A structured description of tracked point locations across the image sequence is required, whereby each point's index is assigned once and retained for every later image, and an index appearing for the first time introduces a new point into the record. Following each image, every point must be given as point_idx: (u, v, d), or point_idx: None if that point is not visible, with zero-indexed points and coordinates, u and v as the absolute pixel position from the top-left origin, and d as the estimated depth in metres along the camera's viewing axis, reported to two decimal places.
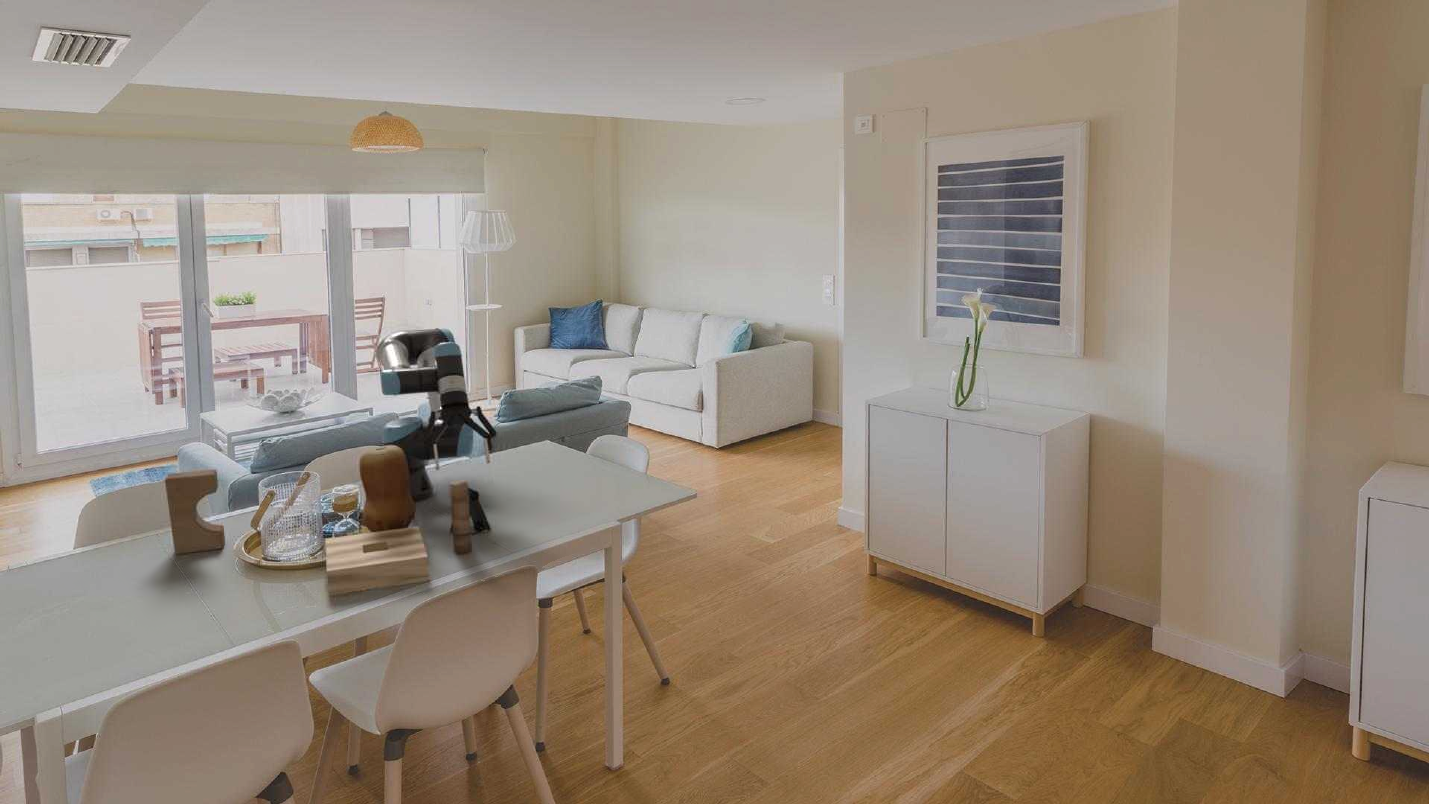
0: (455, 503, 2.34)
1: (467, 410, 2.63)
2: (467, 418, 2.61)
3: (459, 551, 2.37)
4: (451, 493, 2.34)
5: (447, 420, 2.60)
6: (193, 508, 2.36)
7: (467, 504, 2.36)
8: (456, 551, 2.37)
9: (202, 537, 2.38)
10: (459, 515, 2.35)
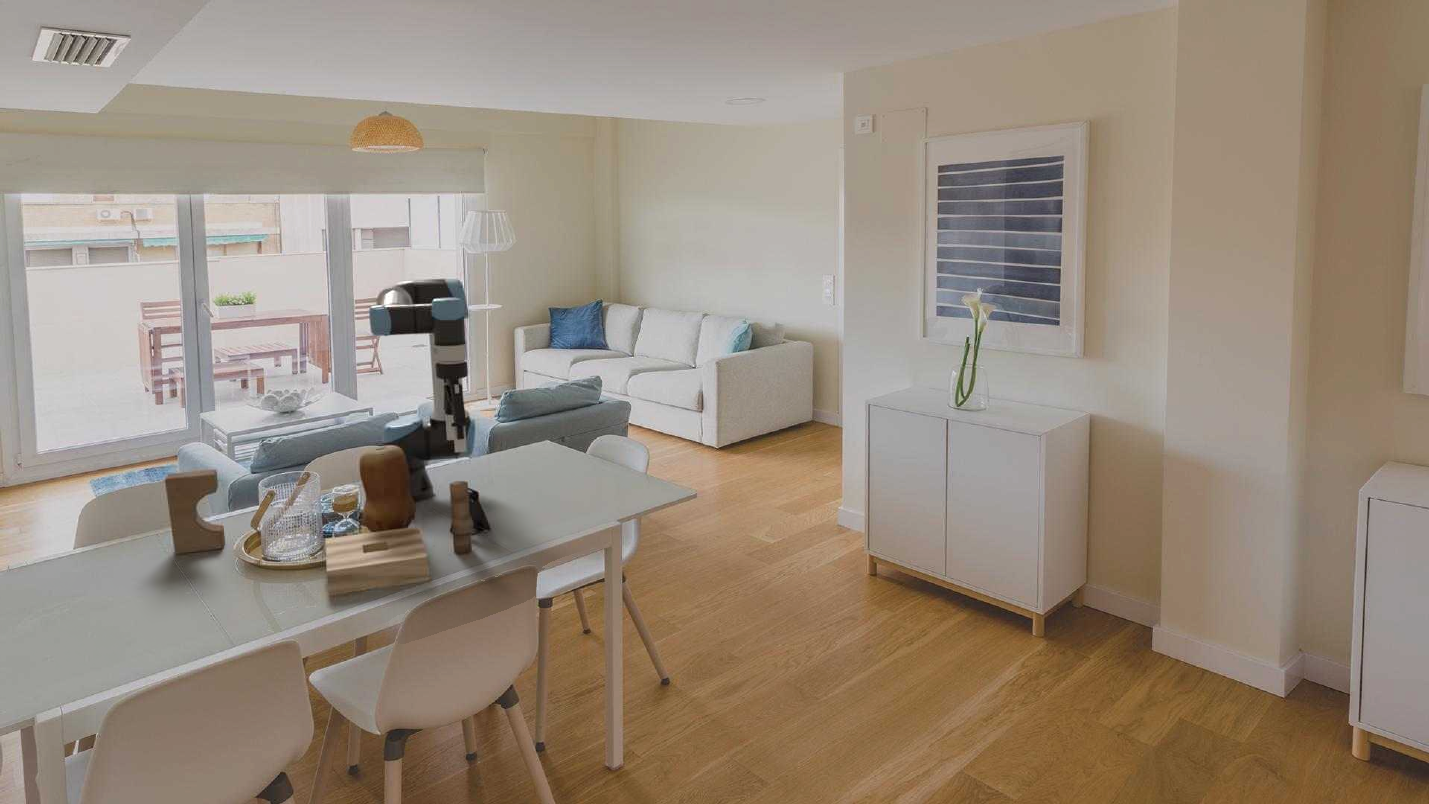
0: (455, 503, 2.34)
1: (450, 386, 2.27)
2: (447, 397, 2.28)
3: (459, 551, 2.37)
4: (451, 493, 2.34)
5: (444, 393, 2.33)
6: (193, 508, 2.36)
7: (467, 504, 2.36)
8: (456, 551, 2.37)
9: (202, 537, 2.38)
10: (459, 515, 2.35)
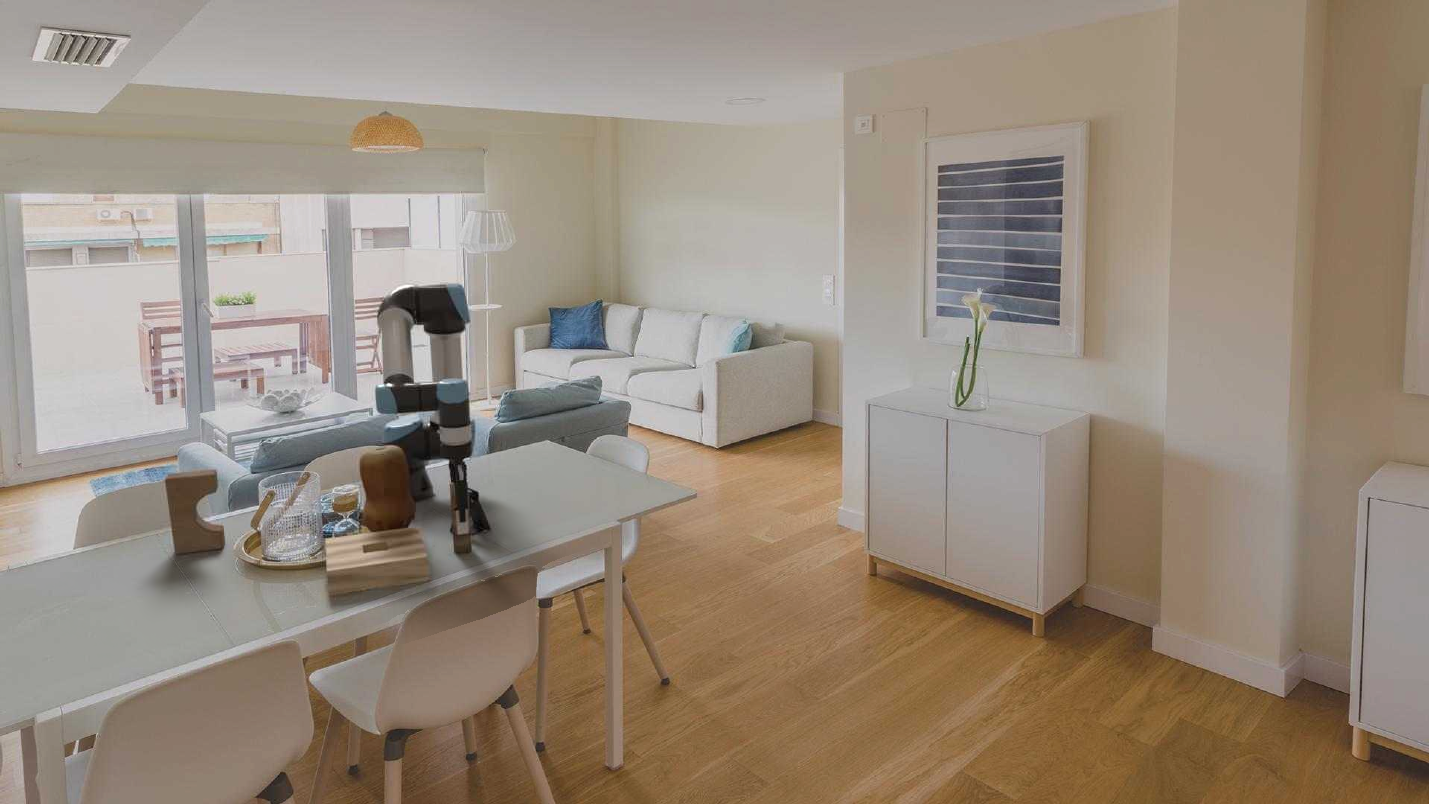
0: (455, 503, 2.34)
1: (454, 467, 2.31)
2: (452, 478, 2.32)
3: (459, 551, 2.37)
4: (451, 493, 2.34)
5: (450, 473, 2.35)
6: (193, 508, 2.36)
7: None
8: (456, 551, 2.37)
9: (202, 537, 2.38)
10: None
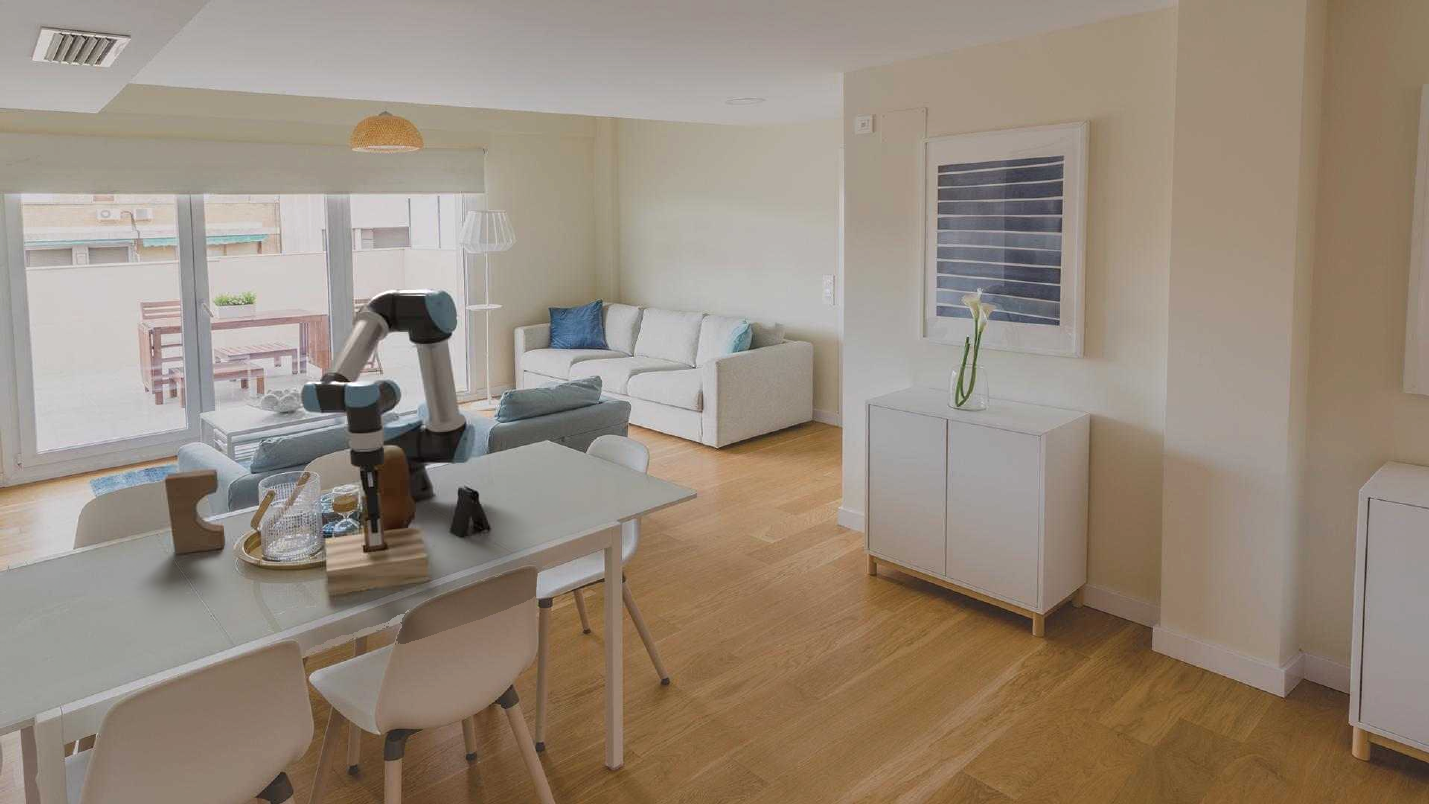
0: (367, 516, 2.21)
1: (364, 474, 2.18)
2: None
3: None
4: (363, 506, 2.21)
5: None
6: (193, 508, 2.36)
7: (380, 517, 2.23)
8: None
9: (202, 537, 2.38)
10: None
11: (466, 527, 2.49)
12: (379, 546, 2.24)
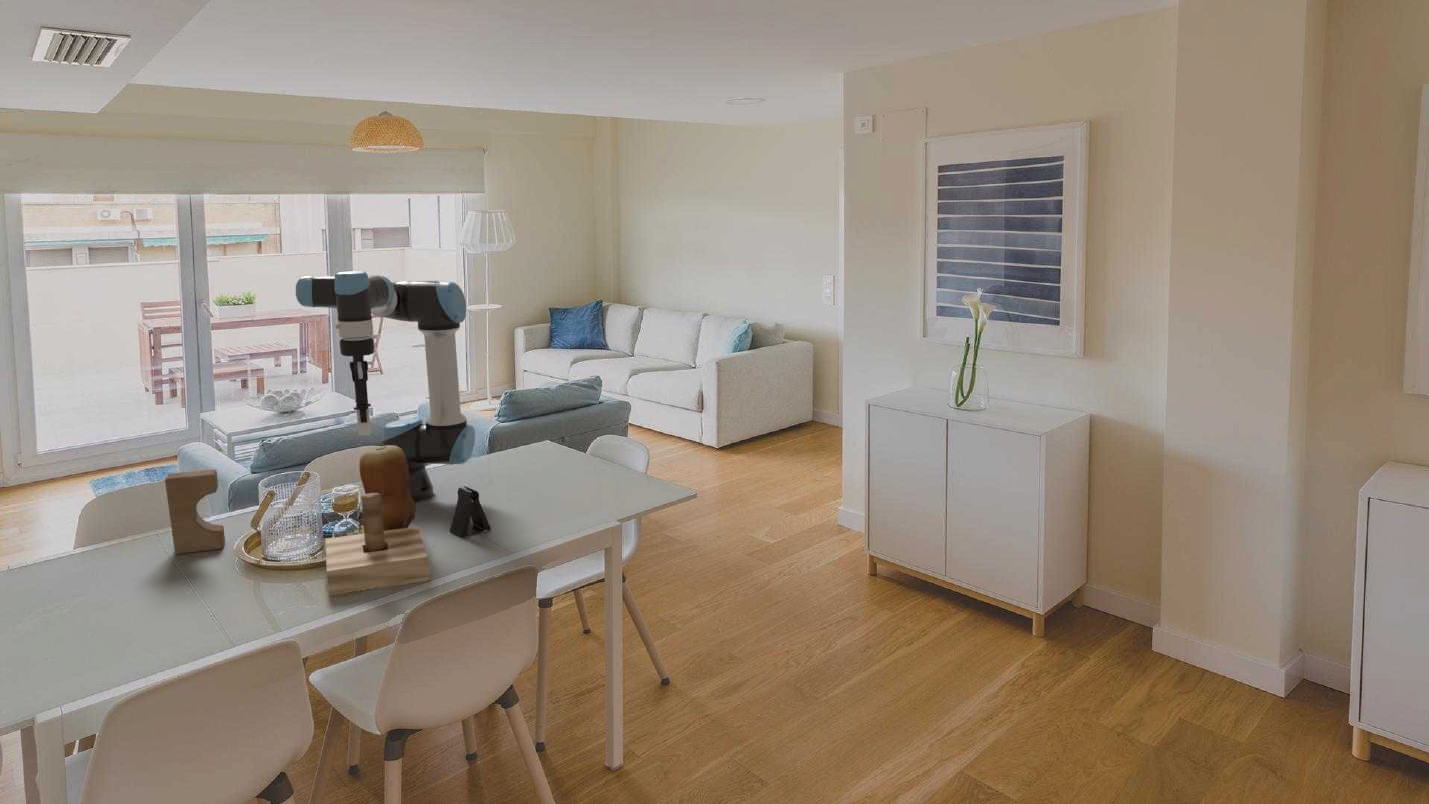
0: (367, 516, 2.21)
1: (354, 364, 2.19)
2: (352, 376, 2.21)
3: None
4: (363, 506, 2.21)
5: None
6: (193, 508, 2.36)
7: (380, 517, 2.23)
8: None
9: (202, 537, 2.38)
10: (371, 529, 2.22)
11: (466, 527, 2.49)
12: (379, 546, 2.24)
